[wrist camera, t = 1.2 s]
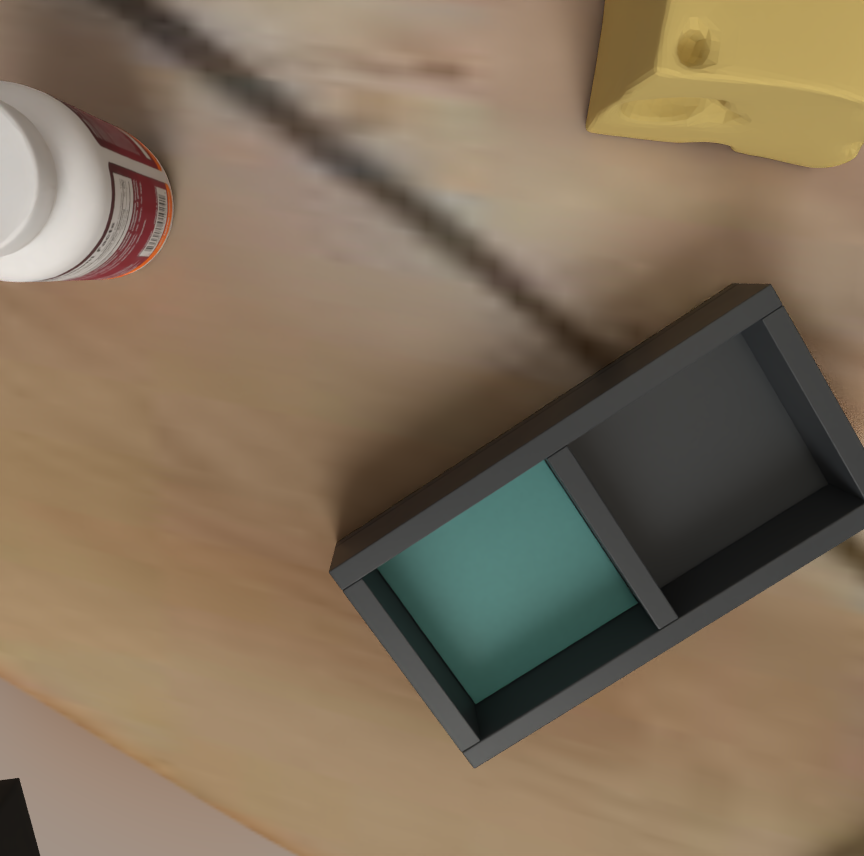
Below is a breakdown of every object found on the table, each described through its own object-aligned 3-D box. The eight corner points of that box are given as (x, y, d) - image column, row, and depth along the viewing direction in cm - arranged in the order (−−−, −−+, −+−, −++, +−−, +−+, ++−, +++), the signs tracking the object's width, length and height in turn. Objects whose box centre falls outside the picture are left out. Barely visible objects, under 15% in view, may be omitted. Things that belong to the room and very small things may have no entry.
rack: (335, 543, 36) (328, 572, 32) (733, 282, 34) (771, 283, 30) (467, 723, 38) (474, 769, 34) (850, 485, 36) (898, 508, 32)
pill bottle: (0, 160, 32) (-208, 100, 21) (138, 102, 32) (-1, 12, 21) (69, 303, 33) (-94, 315, 22) (202, 248, 33) (102, 234, 22)
